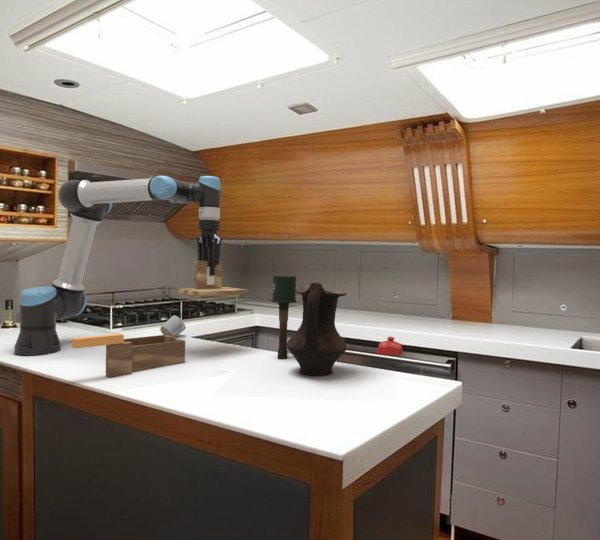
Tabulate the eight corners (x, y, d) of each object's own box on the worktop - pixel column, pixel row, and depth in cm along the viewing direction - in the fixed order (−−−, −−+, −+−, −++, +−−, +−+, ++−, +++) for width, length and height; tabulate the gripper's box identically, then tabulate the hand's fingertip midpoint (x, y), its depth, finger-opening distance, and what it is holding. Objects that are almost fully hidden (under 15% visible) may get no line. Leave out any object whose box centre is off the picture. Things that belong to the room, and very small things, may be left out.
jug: (291, 368, 164) (293, 277, 163) (347, 372, 161) (350, 279, 160) (278, 385, 143) (280, 280, 142) (342, 389, 140) (345, 283, 139)
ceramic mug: (168, 342, 212) (156, 328, 212) (183, 330, 217) (172, 316, 216) (174, 337, 203) (162, 322, 203) (190, 325, 208) (178, 310, 208)
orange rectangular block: (71, 347, 141) (71, 338, 141) (120, 341, 151) (120, 333, 151) (74, 348, 139) (74, 339, 139) (123, 343, 149) (123, 334, 149)
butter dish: (407, 358, 186) (408, 335, 186) (404, 364, 175) (405, 340, 175) (376, 355, 190) (377, 333, 190) (371, 361, 179) (372, 337, 179)
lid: (176, 295, 179) (176, 260, 178) (223, 293, 192) (223, 260, 192) (200, 299, 167) (200, 261, 167) (248, 296, 181) (248, 262, 180)
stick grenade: (281, 358, 178) (283, 274, 177) (299, 362, 173) (302, 276, 171) (264, 362, 171) (266, 275, 170) (283, 366, 166) (285, 276, 165)
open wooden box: (88, 367, 158) (89, 337, 157) (164, 357, 176) (164, 330, 175) (109, 377, 146) (109, 345, 146) (187, 365, 164) (188, 336, 164)
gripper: (188, 219, 184) (187, 283, 185) (212, 218, 173) (211, 286, 173) (206, 220, 189) (205, 282, 190) (230, 219, 178) (228, 285, 179)
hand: (208, 284), depth 182 cm, fingers closed on lid, 2 cm apart
